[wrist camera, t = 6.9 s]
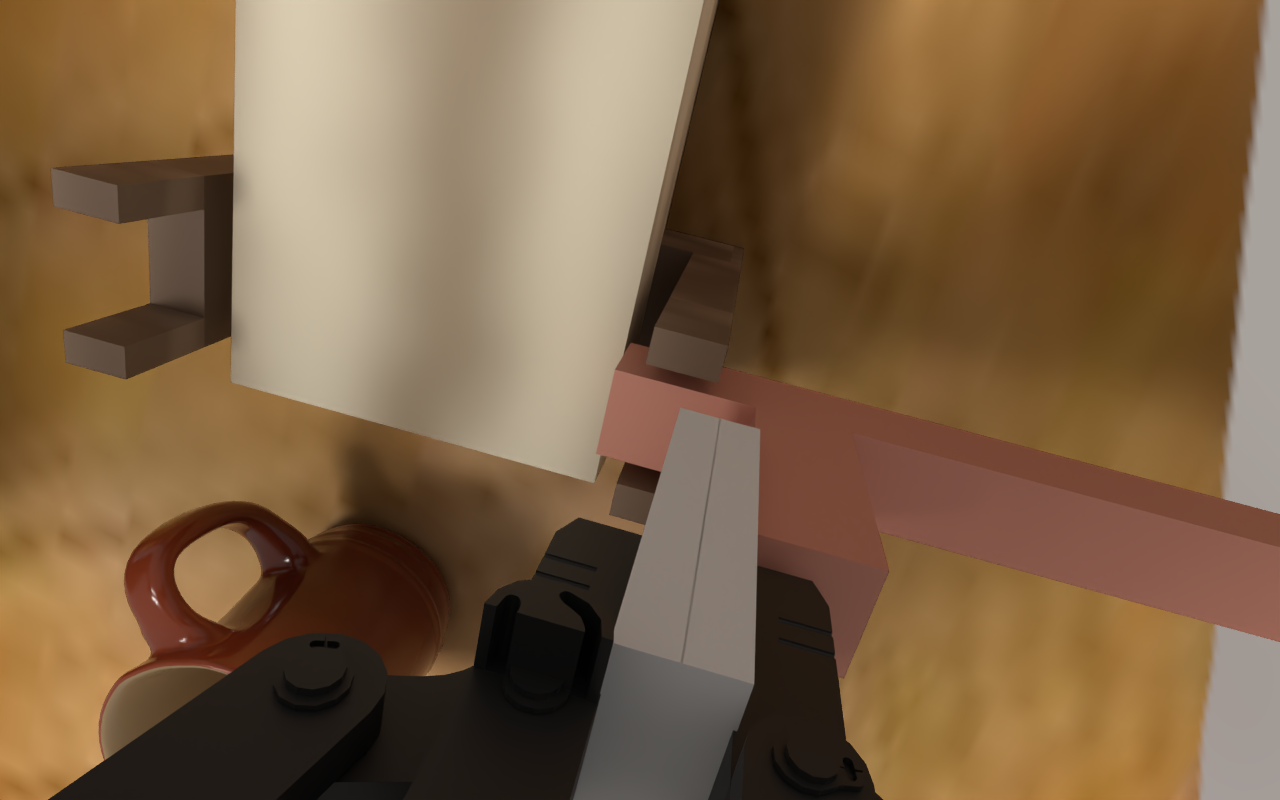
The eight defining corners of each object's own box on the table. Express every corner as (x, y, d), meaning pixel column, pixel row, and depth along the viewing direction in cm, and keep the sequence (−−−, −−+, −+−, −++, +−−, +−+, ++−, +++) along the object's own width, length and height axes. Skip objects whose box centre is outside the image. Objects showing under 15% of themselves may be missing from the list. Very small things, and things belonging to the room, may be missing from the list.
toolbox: (333, 275, 28) (66, 374, 17) (362, -168, 23) (5, -419, 12) (709, 375, 27) (672, 544, 16) (830, -63, 22) (892, -234, 11)
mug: (505, 650, 33) (402, 865, 24) (340, 680, 35) (184, 888, 26) (394, 405, 30) (219, 542, 20) (218, 456, 32) (-14, 600, 22)
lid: (296, 349, 23) (230, 382, 20) (326, -266, 17) (240, -341, 14) (616, 436, 22) (594, 483, 19) (757, -172, 16) (755, -231, 14)
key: (613, 419, 18) (528, 587, 12) (630, 342, 17) (550, 476, 11) (1286, 602, 17) (1601, 896, 11) (1336, 529, 16) (1709, 798, 10)
